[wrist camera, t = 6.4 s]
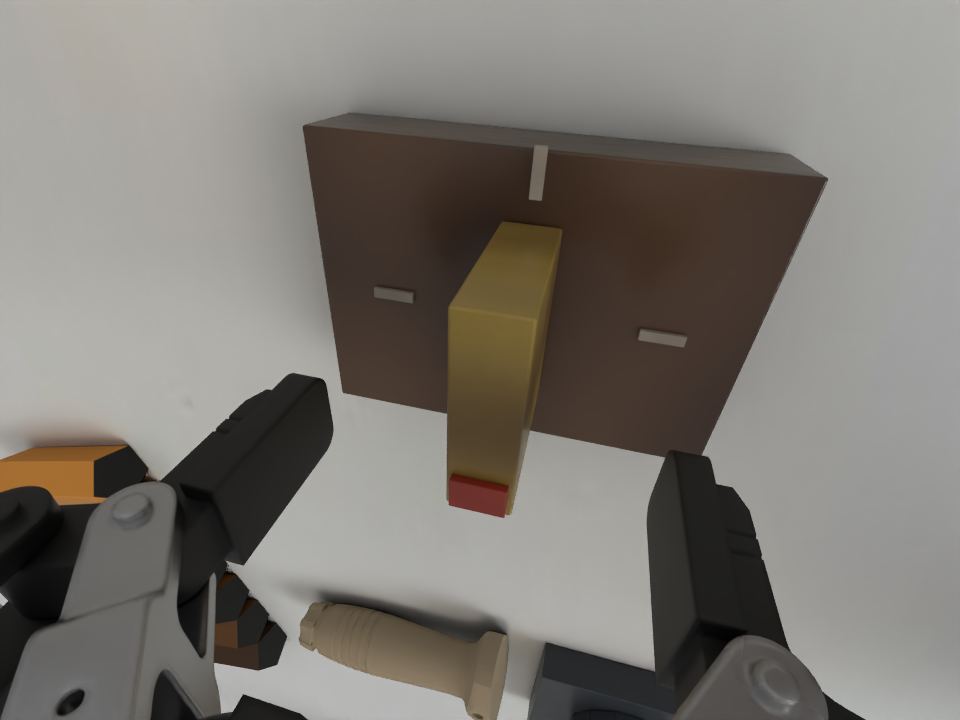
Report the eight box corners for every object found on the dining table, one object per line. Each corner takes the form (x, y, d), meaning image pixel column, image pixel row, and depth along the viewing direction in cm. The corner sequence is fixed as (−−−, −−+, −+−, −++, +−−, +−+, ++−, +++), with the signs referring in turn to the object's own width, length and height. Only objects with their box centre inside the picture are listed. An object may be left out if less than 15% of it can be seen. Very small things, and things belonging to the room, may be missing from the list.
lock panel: (793, 150, 14) (834, 175, 11) (687, 414, 19) (697, 469, 17) (348, 108, 16) (297, 121, 13) (372, 355, 22) (340, 397, 19)
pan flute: (105, 613, 51) (290, 640, 43) (76, 645, 48) (268, 680, 40) (-88, 444, 39) (122, 437, 31) (-141, 474, 36) (74, 476, 28)
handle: (316, 569, 36) (506, 619, 32) (336, 613, 39) (509, 664, 35) (277, 632, 32) (487, 698, 28) (302, 675, 36) (492, 739, 32)
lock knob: (501, 220, 14) (443, 311, 9) (563, 227, 13) (535, 326, 9) (489, 382, 17) (442, 509, 12) (538, 391, 17) (509, 524, 12)
